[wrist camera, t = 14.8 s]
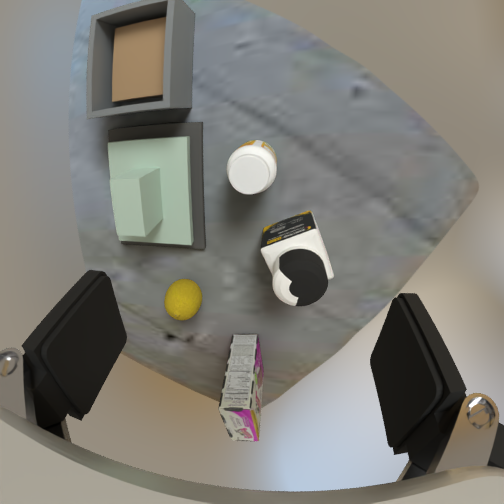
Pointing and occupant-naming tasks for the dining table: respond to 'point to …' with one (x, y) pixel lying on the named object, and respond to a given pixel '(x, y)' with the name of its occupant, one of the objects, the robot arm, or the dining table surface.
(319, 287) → the medicine bottle
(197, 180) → the mat
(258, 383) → the candy bar box
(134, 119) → the dining table surface
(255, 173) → the supplement bottle
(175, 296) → the lemon
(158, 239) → the lid
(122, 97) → the storage box
